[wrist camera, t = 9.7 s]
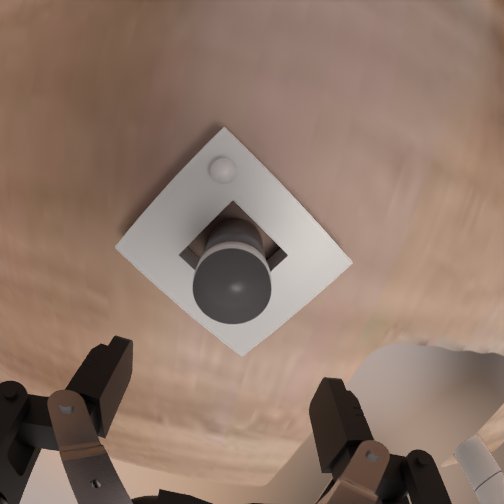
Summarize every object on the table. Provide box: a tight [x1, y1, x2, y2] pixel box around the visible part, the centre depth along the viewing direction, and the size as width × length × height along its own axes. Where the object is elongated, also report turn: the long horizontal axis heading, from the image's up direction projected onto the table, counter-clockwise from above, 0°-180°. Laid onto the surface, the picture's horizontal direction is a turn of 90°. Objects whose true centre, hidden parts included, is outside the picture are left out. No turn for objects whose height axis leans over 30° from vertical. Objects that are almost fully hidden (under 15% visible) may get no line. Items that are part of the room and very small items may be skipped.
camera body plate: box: [115, 127, 353, 357], centre depth 27 cm, size 16×14×4 cm
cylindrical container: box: [454, 435, 504, 504], centre depth 33 cm, size 7×7×25 cm
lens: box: [193, 219, 272, 324], centre depth 24 cm, size 5×5×10 cm
